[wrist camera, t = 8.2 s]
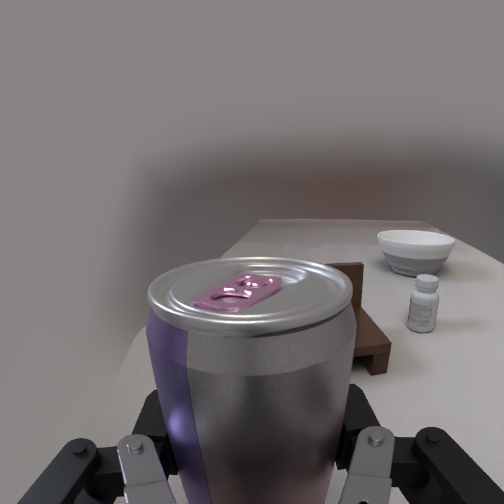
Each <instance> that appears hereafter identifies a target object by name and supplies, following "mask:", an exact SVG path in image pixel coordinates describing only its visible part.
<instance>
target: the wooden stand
mask: <svg viewBox="0 0 504 504" xmlns="http://www.w3.org/2000/svg"><path fill="white" fill-rule="evenodd" d="M325 265H328V266H331V267H333V268H336V269H338V270H339V271H341V272H343V273H344V274H345V275H347V276H348V278H349V279H350V281H351V283H352V286H353V295H352V298H351V303H352V307H353V311H354V314H355V318H356V323H357V329H356V338H355V346H354V354H353V357H358V356H360V358H361V360H362V361H363V363H364V365H365V366H366V368H367V370H368V371H369V373H370V375H375V374H382V373H386V372H387V366H388V361H389V355H390V350H391V344H392V343H391V342H390V341H389V339H388V338H387V337H386V336H385V335H384V333H383V332H382V331H381V330H380V329H379V327H378V326H377V325H376V324H375V323H374V321H373V320H372V319H371V318H370V317H369V316H368V314H367V313H366V312H365V311H364V310H363V309H362V307H361V298H362V284H363V268H364V264H362V263H361V262H355V263H334V264H325Z"/></svg>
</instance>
